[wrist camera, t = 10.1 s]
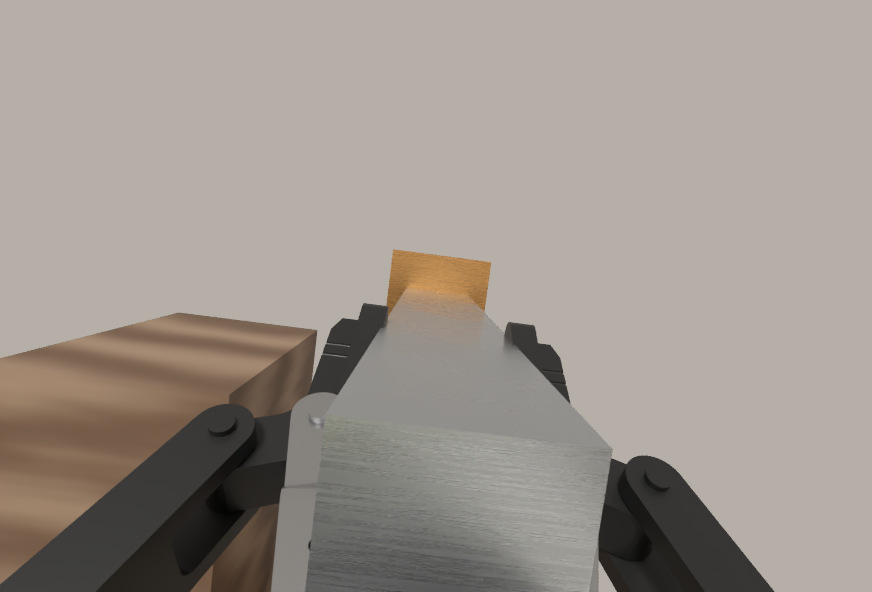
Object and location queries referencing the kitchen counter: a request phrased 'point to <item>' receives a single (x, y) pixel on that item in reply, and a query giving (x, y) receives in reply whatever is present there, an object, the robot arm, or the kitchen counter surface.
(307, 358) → the walnut stand
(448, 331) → the steel pin
